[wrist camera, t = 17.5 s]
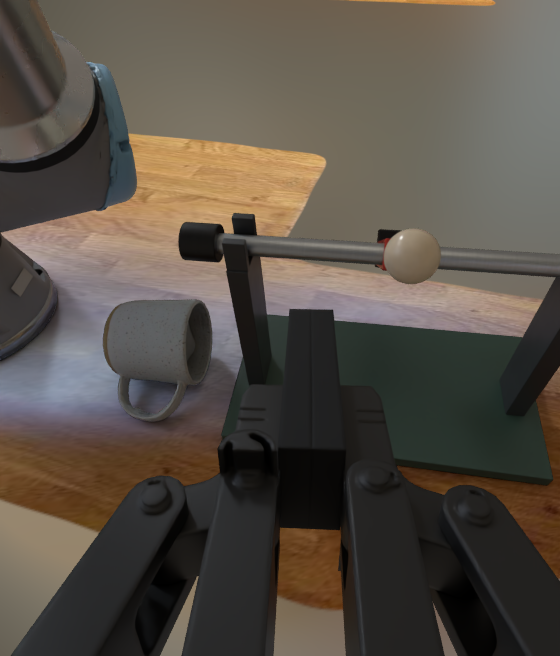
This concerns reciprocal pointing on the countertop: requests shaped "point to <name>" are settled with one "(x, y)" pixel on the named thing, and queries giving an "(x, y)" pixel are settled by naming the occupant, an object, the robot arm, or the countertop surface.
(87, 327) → the countertop surface
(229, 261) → the foosball frame
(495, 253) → the foosball rod
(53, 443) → the countertop surface
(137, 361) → the ceramic mug
